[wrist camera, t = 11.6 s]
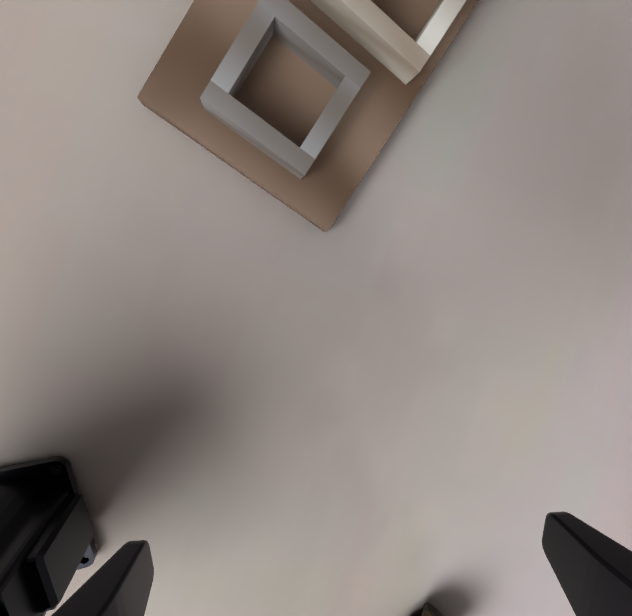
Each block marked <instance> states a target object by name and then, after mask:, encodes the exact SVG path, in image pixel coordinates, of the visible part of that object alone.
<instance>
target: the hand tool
mask: <svg viewBox="0 0 632 616" xmlns="http://www.w3.org/2000/svg"><path fill="white" fill-rule="evenodd" d="M421 616H442V614H441V613H440V612H439V611H438V610H437V609H436V608H435V607H434V606H432V605H430V604H428V603H426V604H424V608H423V612H422V615H421Z"/></svg>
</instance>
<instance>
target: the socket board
mask: <svg viewBox="0 0 632 616" xmlns="http://www.w3.org/2000/svg"><path fill="white" fill-rule="evenodd" d="M477 2H478V0H194V2H193V3H192V5H191V7H190V8H189V10H188V12H187V14H186V15H185V17H184V19H183V20H182V22H181V24H180V25H179V27H178V29H177V30H176V32H175V34H174V36H173V37H172V39H171V41H170V42H169V44H168V46H167V47H166V49H165V51H164V53H163V54H162V56H161V58H160V59H159V61H158V63H157V64H156V66H155V68H154V69H153V71H152V73H151V75H150V76H149V78H148V80H147V81H146V83H145V85H144V86H143V88H142V90H141V92H140V93H139V95H138V97H137V98H138V99H139V100H140V101H141V103H142V104H143V105H144V106H146V107H147V108H149V109H150V110H151V111H153V112H154V113H156V114H157V115H159V116H160V117H161V118H163V119H164V120H166V121H167V122H168V123H170V124H171V125H173V126H174V127H176V128H177V129H178V130H180V131H181V132H183V133H184V134H186V135H187V136H188V137H190V138H191V139H193V140H194V141H196V142H197V143H198V144H200V145H201V146H203V147H204V148H206V149H207V150H208V151H210V152H211V153H213V154H214V155H216V156H217V157H218V158H220V159H221V160H223V161H224V162H226V163H227V164H228V165H230V166H231V167H233V168H234V169H236V170H237V171H238V172H240V173H241V174H243V175H244V176H246V177H247V178H248V179H250V180H251V181H253V182H254V183H256V184H257V185H258V186H260V187H261V188H263V189H264V190H266V191H267V192H268V193H270V194H271V195H273V196H274V197H276V198H277V199H278V200H280V201H281V202H283V203H284V204H285V205H287V206H288V207H290V208H291V209H293V210H294V211H295V212H297V213H298V214H300V215H301V216H303V217H304V218H305V219H307V220H308V221H310V222H311V223H313V224H314V225H315V226H317V227H318V228H320V229H321V230H323V231H328V230H329V229H330V227H331V226H332V224H333V223H334V221H335V220H336V218H337V217H338V215H339V214H340V212H341V210H342V209H343V207H344V206H345V204H346V203H347V201H348V200H349V198H350V197H351V195H352V194H353V192H354V191H355V189H356V187H357V186H358V184H359V183H360V181H361V180H362V178H363V177H364V175H365V174H366V172H367V171H368V169H369V167H370V166H371V164H372V163H373V161H374V160H375V158H376V157H377V155H378V154H379V152H380V151H381V149H382V148H383V146H384V144H385V143H386V141H387V140H388V138H389V137H390V135H391V134H392V132H393V131H394V129H395V128H396V126H397V125H398V123H399V121H400V120H401V118H402V117H403V115H404V114H405V112H406V111H407V109H408V108H409V106H410V105H411V103H412V101H413V100H414V98H415V97H416V95H417V94H418V92H419V91H420V89H421V88H422V86H423V85H424V83H425V82H426V80H427V78H428V77H429V75H430V74H431V72H432V71H433V69H434V68H435V66H436V65H437V63H438V62H439V60H440V59H441V57H442V55H443V54H444V52H445V51H446V49H447V48H448V46H449V45H450V43H451V42H452V40H453V39H454V37H455V35H456V34H457V32H458V31H459V29H460V28H461V26H462V25H463V23H464V22H465V20H466V19H467V17H468V16H469V14H470V12H471V11H472V9H473V8H474V6H475V5H476V3H477Z"/></svg>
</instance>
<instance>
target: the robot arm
mask: <svg viewBox="0 0 632 616" xmlns="http://www.w3.org/2000/svg"><path fill="white" fill-rule="evenodd" d="M54 466H59V467H60V468H61V470H58V469H56V468H55V467H54ZM93 536H94V531H93V528H92V524H91V521H90V518H89V514H88V511H87V508H86V504H85V501H84V498H83V496H82V495H81V494H80V493H79V491H78V488H77V485H76V481H75V478H74V475H73V471H72V468H71V465H70V462H69V461H68V460H67V459H66V458H64V457H53V458H48V459H43V460H37V461H32V462H27V463H22V464H17V465H12V466H7V467H2V468H0V616H45V614H46V612H47V611H48V610H52V609H55V608H56V606H57V605H58V604H59V602H60V601H61V599H62V597H63V595H64V593H65V591H66V589H67V587H68V585H69V583H70V581H71V579H72V577H73V575H74V573H75V571H76V570H77V569H82V568H86V567H88V566H90V565H91V564H93V562H94V559H95V557H96V555H97V551H96V547H95V544H94V541H93ZM542 546H543V549H544V552H545V554H546V556H547V558H548V560H549V562H550V564H551V566H552V568H553V570H554V572H555V574H556V576H557V578H558V580H559V582H560V584H561V586H562V588H563V590H564V592H565V594H566V596H567V598H568V600H569V602H570V604H571V606H572V608H573V610H574V612H575V614H576V616H632V551H630V550H629V549H627V548H625V547H624V546H622V545H620V544H619V543H617V542H615V541H614V540H612V539H611V538H609V537H607V536H606V535H604V534H602V533H601V532H599V531H598V530H596V529H594V528H593V527H591V526H589V525H588V524H586V523H584V522H583V521H581V520H580V519H578V518H576V517H575V516H573V515H571V514H570V513H567V512H550V513H548V514H547V516H546V519H545V525H544V531H543V537H542ZM83 556H87V558H85V557H83ZM153 575H154V568H153V562H152V557H151V552H150V546H149V543H148V542H147V541H145V540H140V541H129V542H127V543H126V544H125V545H123V546H122V547H121V548H120V549H119V550H118V551H117V552H116V553H115V554H114V555H113V556H112V557H111V558H110V559H109V560H108V561H107V562H106V563H105V564H104V565H103V566H102V567H101V568H100V569H99V570H98V571H97V572H96V573H95V574H94V575H93V576H92V577H90V578H89V579H88V580H87V581H86V582H85V583H84V584H83V585H82V586H81V587H80V588H79V589H78V590H77V591H76V592H75V593H74V594H73V595H72V596H71V597H70V598H69V599H68V600H67V601H66V602H65V603H64V604H63V605H62V606H61V607H60V608H59V609H58V610H57V611H56V612H55V613H53V614H52V615H51V616H144V614H145V610H146V606H147V602H148V598H149V594H150V590H151V586H152V582H153Z"/></svg>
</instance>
